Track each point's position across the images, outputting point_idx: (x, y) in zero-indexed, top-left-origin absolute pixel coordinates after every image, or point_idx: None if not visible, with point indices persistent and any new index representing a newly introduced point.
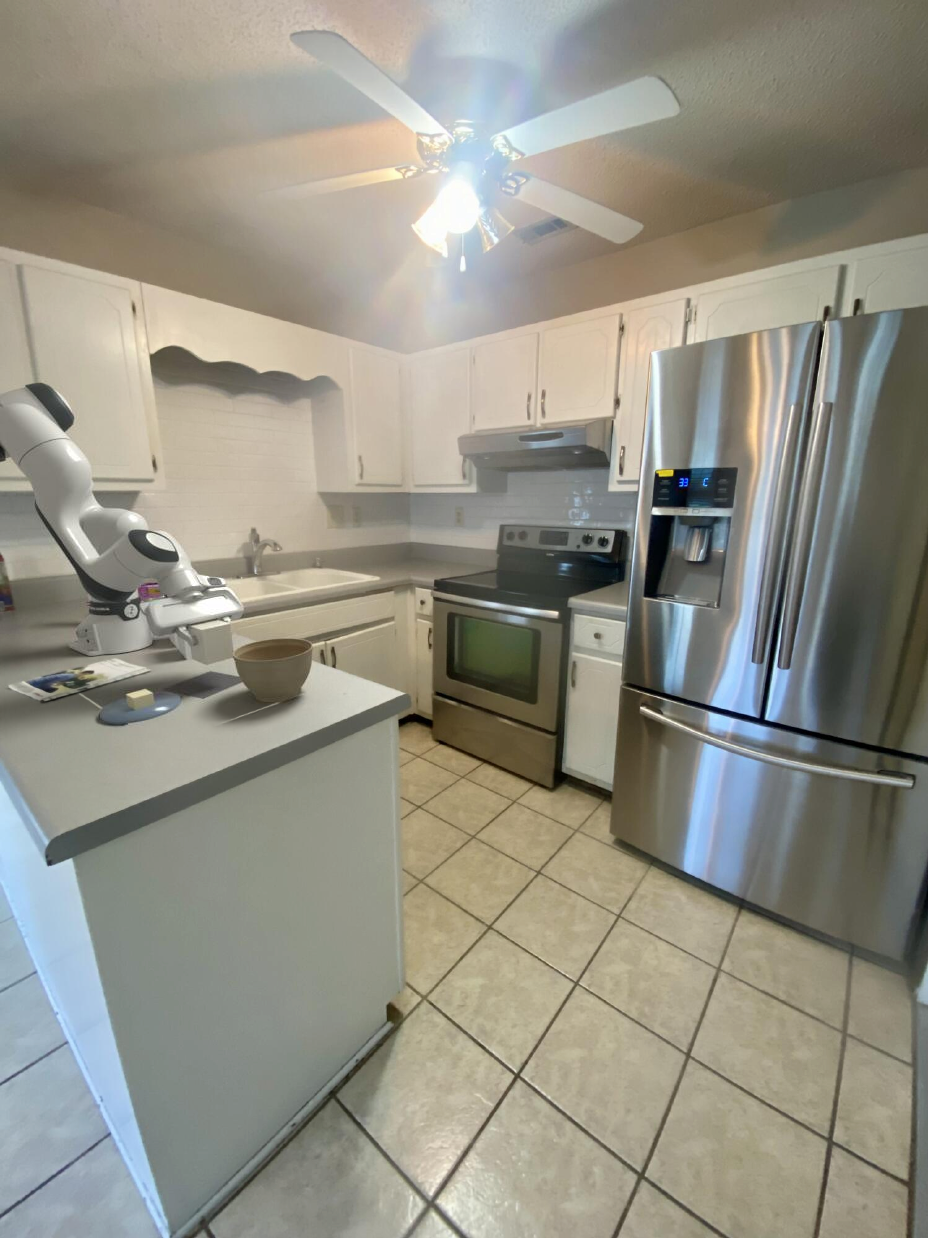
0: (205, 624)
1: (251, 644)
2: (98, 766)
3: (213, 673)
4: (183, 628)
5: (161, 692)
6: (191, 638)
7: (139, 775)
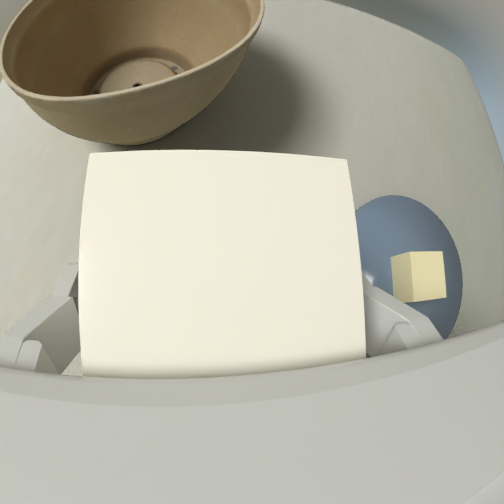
0: (251, 313)
1: (103, 97)
2: (457, 121)
3: None
4: (413, 333)
5: None
6: None
7: (421, 65)
